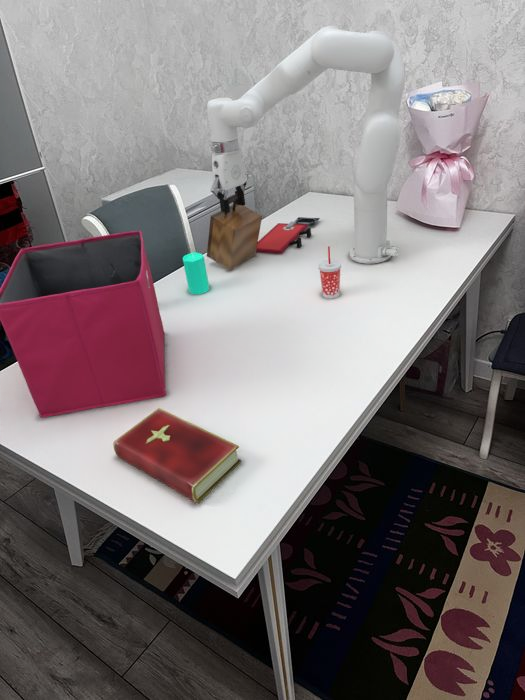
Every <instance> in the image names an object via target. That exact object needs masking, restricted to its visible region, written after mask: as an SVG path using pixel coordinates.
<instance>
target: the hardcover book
mask: <svg viewBox="0 0 525 700" xmlns="http://www.w3.org/2000/svg"><path fill="white" fill-rule="evenodd" d="M112 445H113V450H114V453H115V455H116V457H117V458H119V459H121V460H123V461H124V462H126V463H128V464H129V465H131V466H132V467H135V468H136V469H138V470H140V471H142V472H143V473H145V474H147V475H148V476H150V477H152V478H153V479H155V480H157V481H159V482H161V483H162V484H163V485H165V486H167V487H169V488H171V489H172V490H174V491H176V492H178V494H179V493H180V494H181V495H183V496H185V497H186V498H187V499H189V500H191V501H193V502H194V503H196V504H199V503H200V502H201V501H202V500H204V498H205V497H206V496H208V495H209V494H210V493H211V492H212V491H213V490H214V489H215V488H216V487H217V486H218V485H220V483H221V482H223V480H224V479H225V478H227V476H228V475H229V474H230V473H232V472H233V471H234V470H235V469H236V468H237V467H238V466H239V465H240V464H241V463H242V459H240V458H238V452H237V450H238V449H239V448H240V446H239V444H236V443H233V442H231V441H229V440H228V439H226V438H223V437H221V436H219V435H216V434H215V433H212V432H211V431H209V430H206V429H204V428H202V427H200V426H198V425H196V424H194V423H192V422H189V421H188V420H185V419H183V418H181V417H180V416H176V415H175V414H172V413H171V412H168V411H166V410H164V409H162V408H160V407H158V408H157V409H155V410H154V411H152V412H151V413H150V414H149V415H147V416H146V417H144V418H143V419H142V420H140V421H139V422H138V423H137V424H135V425H133V427H131V428H130V429H129V430H127V431H126V432H125V433H123V434H122V435H121V436H119V437H118V438H116V439H115V440H113V444H112Z"/></svg>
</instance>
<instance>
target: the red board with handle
mask: <svg viewBox="0 0 525 700" xmlns="http://www.w3.org/2000/svg"><path fill="white" fill-rule="evenodd" d="M320 219H321V218H320V217H304V216H303V217H302V216H301V217H300V216H298V217H297V218H296V219H295V220H294V221H290V222H289V223H282V222H281V223H280V222H279V223H276V225H274V226H273V227H272V228H271V229H270V230H269V231H268V232H267V233H265V235H263V236H262V237H261V238H259V239H258V243H257V249H256V253H265V254H267V253H268V254H281V255H282V254H283V253H284V252H285V251H286V250H287V249H288V248H289V246H294V245H296V248H297V249H300V248H301V247H302V246H303V244H302V237H300V236H303V235H306V239H310V238H311V237H312V228H311V227H308V226H314V225H316V223H317V222H318V221H319V220H320Z"/></svg>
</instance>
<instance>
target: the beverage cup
mask: <svg viewBox="0 0 525 700" xmlns="http://www.w3.org/2000/svg"><path fill="white" fill-rule="evenodd" d="M327 256H328V259H326V260H322V261H320V262H319V263H318V264H317V266H318V267H317V268H318V270H319V276H320V277H319V278H320V284H321V292H322V297H323V298H325V299H330V300H331V299H336V298H338V297H340V288H341V268H342V262H340V261H339V260H337V259H331V246H327Z"/></svg>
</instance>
